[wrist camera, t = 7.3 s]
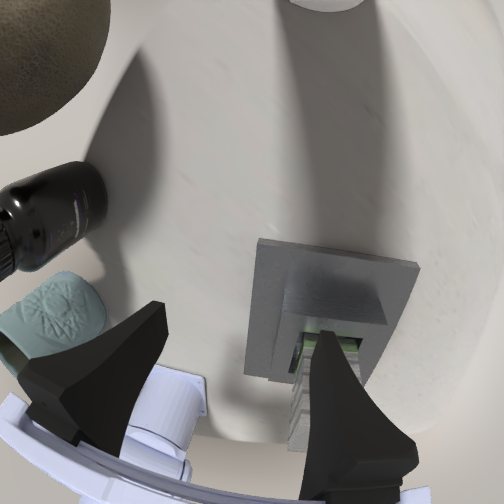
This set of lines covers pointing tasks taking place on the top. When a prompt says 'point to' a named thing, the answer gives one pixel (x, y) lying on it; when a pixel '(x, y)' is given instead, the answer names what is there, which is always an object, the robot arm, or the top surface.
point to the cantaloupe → (47, 56)
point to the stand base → (322, 304)
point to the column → (301, 389)
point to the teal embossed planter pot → (50, 320)
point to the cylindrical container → (327, 4)
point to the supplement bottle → (48, 215)
